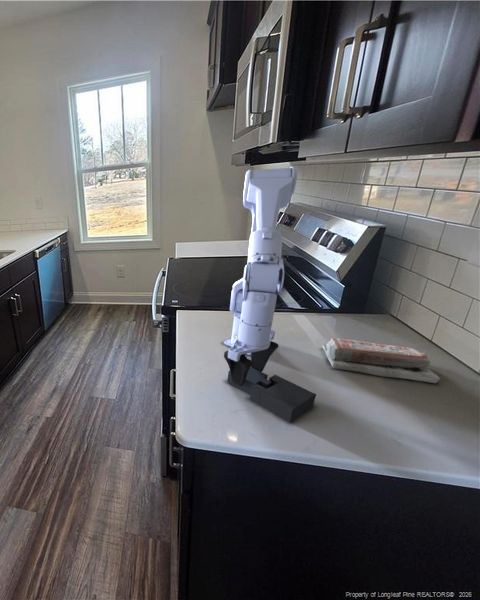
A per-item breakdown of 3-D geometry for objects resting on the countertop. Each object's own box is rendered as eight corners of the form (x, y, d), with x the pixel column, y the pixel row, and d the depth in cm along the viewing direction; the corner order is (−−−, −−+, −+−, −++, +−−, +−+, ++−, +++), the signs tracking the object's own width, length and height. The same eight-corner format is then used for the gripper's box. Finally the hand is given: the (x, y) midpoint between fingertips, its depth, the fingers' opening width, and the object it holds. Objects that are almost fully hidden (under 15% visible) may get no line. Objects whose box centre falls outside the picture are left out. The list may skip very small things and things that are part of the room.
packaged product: (336, 351, 71) (325, 331, 80) (331, 369, 73) (321, 348, 81) (446, 365, 64) (421, 342, 72) (438, 385, 66) (414, 360, 74)
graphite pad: (239, 374, 73) (241, 363, 72) (273, 390, 67) (276, 378, 66) (227, 382, 71) (228, 371, 70) (261, 399, 65) (263, 387, 64)
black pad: (272, 386, 69) (275, 374, 68) (313, 406, 62) (316, 394, 61) (249, 399, 65) (251, 387, 64) (289, 422, 59) (292, 409, 57)
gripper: (255, 305, 71) (247, 358, 76) (216, 324, 64) (210, 381, 68) (289, 315, 66) (278, 370, 70) (251, 337, 58) (242, 397, 63)
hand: (247, 377), depth 69 cm, fingers open, 7 cm apart
